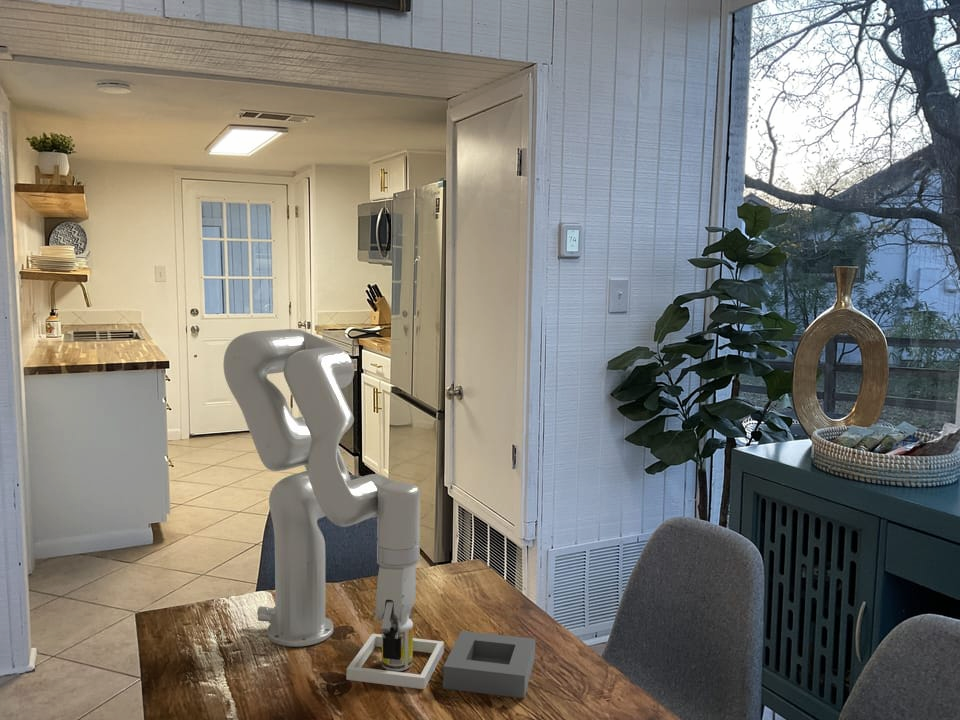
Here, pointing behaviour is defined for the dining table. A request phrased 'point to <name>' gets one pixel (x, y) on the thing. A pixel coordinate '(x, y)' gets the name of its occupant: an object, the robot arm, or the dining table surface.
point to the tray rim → (392, 677)
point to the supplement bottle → (406, 647)
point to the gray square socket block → (490, 664)
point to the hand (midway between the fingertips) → (397, 649)
